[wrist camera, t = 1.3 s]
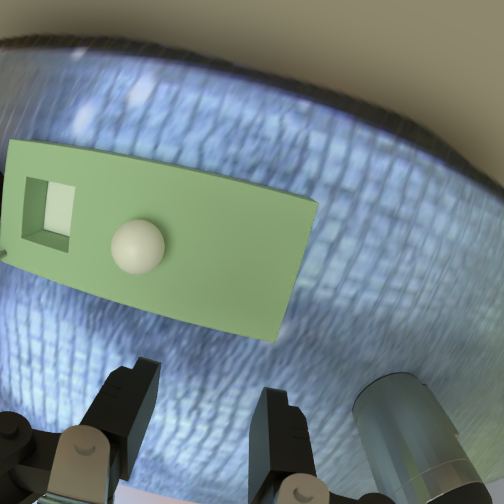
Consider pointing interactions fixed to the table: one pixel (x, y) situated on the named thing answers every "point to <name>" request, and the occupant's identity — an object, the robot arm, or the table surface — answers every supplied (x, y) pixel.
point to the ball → (137, 247)
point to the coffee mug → (1, 190)
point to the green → (169, 224)
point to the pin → (3, 254)
